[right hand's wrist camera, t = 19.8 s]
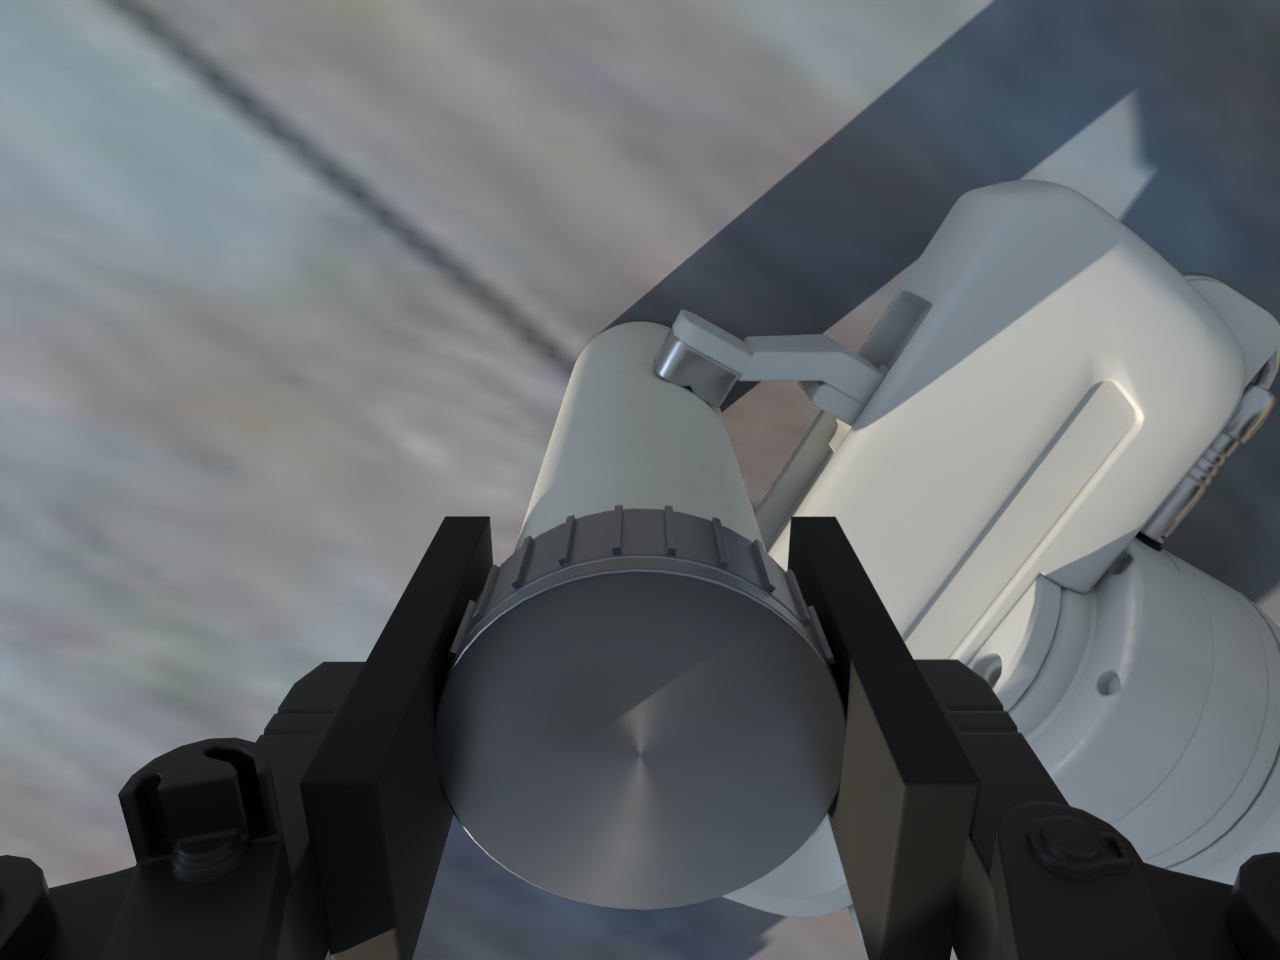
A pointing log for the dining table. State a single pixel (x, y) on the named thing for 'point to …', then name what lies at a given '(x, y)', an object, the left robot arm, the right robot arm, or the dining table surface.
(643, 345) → the off-white tall cylinder
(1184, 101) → the dining table surface
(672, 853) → the lid
